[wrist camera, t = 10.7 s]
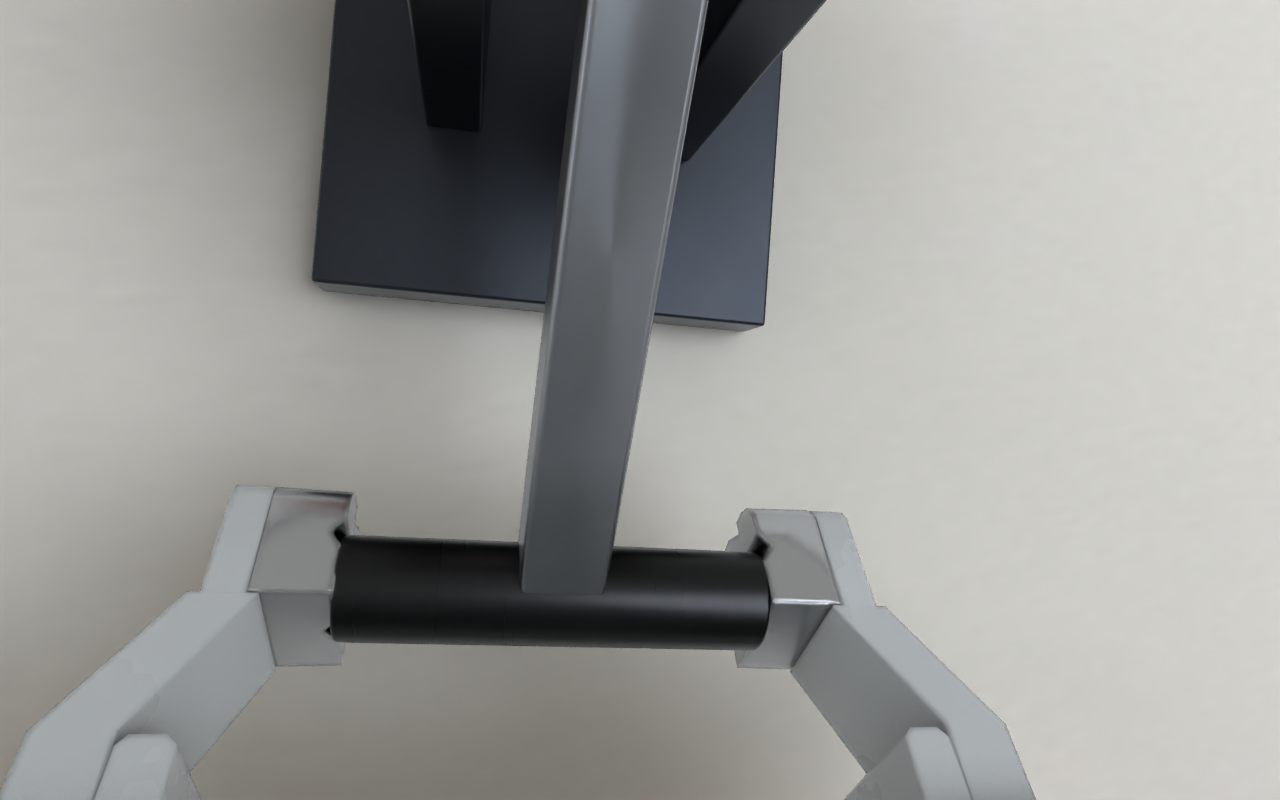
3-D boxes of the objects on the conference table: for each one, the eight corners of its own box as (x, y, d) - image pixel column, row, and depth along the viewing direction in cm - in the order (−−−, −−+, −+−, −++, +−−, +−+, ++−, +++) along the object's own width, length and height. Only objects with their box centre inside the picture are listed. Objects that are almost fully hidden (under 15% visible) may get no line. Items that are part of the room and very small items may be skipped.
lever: (725, 582, 13) (767, 702, 11) (354, 569, 12) (320, 699, 10) (1026, -609, 7) (1235, -837, 5) (366, -835, 6) (294, -1245, 4)
